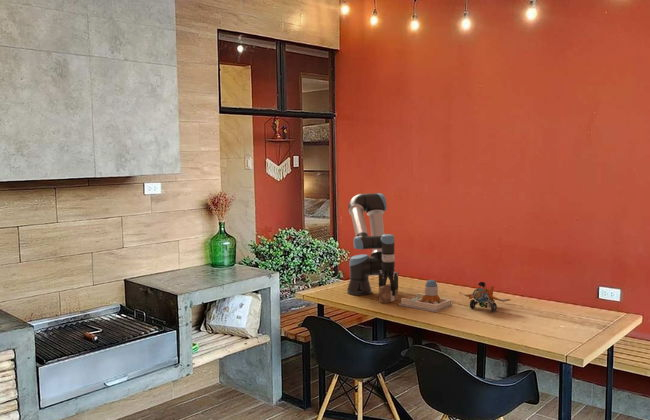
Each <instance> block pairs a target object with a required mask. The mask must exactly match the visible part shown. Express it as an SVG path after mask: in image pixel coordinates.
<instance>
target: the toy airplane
mask: <svg viewBox="0 0 650 420" xmlns="http://www.w3.org/2000/svg"><path fill="white" fill-rule="evenodd" d="M494 288H495V287H494V285H492V286H490V289H488V288H487V287H486V282H484V281H480V282H478V288H476V289H474V291H473V292H472V293H468V294H465V293H463V292H460V291H459V292H458V294H461V295H462V296H464V297H468V299H469V300H470V301H469V308H470V309H472V310H473V309H476V308H475V307H476V306H477V304H478V306H479V307H480V308H484V309H488V307H489V308H490V311H491V312H492V313H495V312H496V311H497V309H498V308H497V306H498V305H497V303H496V302H495V301H499V302H503V303H504V302H508V301H512V299H511V298H510V299H509V298H508V299H507V298H504V299H501V298H498V297H495V296H494Z"/></svg>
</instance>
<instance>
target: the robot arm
mask: <svg viewBox="0 0 650 420" xmlns="http://www.w3.org/2000/svg"><path fill="white" fill-rule="evenodd" d="M387 206H388V205H387V199H386V197H385V195H384V194H383V193H380V192H379V193H378V192H375V193H358V194H356V195H354V196H353V197H352V198H351V199H350V201H349V203H348V208H347V209H348V213H349V215H350V216H351V220H352V221H351V222H352V226H353V231H354V235H355V236H354V237H353V242H352V243H353V248H354V249H355V250H372V252H371V253H370V255H368V254H366V253H365V254H363V253H362V254H355V255H353V256H351V257H350V258H349V264H348V265H349V283H348V286H347V291H346V292H347V294H349V295H351V296H364V295H365V296H366V295H370V294H371V293H372V291H373V289H372V287H371V283H370V279H369V276H378V288H379V287H381V286H384V285H387V280H388V279H389V284H391V289H392V290H391V302H395V301H394V296H395V290H397V289H398V290H399V274H400V272H397V271H395V266H396V265H395V264H396V263H395V259H396V257H395V255H396V254H395V242H396V240H395V236H394V234H390V233H385V228H384V227H385V225H384V217H383V215H384V214H385V212H386V211H387V209H388V208H387ZM364 212H366V216H368V217H369V218H368V219H369V227H370V235H369V234H368V228H367V224H366V221H365V217H364ZM391 302H390V303H391Z"/></svg>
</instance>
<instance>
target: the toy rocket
mask: <svg viewBox="0 0 650 420" xmlns="http://www.w3.org/2000/svg"><path fill="white" fill-rule="evenodd" d="M424 285H425V287H424V294H426V295H424V296H423V297H422V302H425V301H426V299H427V300H428V301H429V303H431V304H434V301H435V300H436V301H437V302H438V303H440V298H441V297H440V296H439V295H438V294H439V293H438V290H439V289H438V288H439V287H438V284H437V281H435V280H434V279H428V280H427V281H426V283H425V284H424Z"/></svg>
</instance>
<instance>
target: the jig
mask: <svg viewBox="0 0 650 420" xmlns="http://www.w3.org/2000/svg"><path fill="white" fill-rule="evenodd" d="M424 295H426V294H425V293H420V292H417V293H416V297H413V298H411V299H409V298H405V297H401V298H400V302H398V306H400V307H406V308H411V309H416V310H421V311H428V312H432V313H437V312H439V311H442V310H445V309H446V308H449V307H452V306H453V303H452V299H447V298H443V297H440V303H438V302H437V301H436V300H435V301H434V304H431V303H429V301H428V300H427V299H426V301H425V302H422V297H423V296H424Z"/></svg>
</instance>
